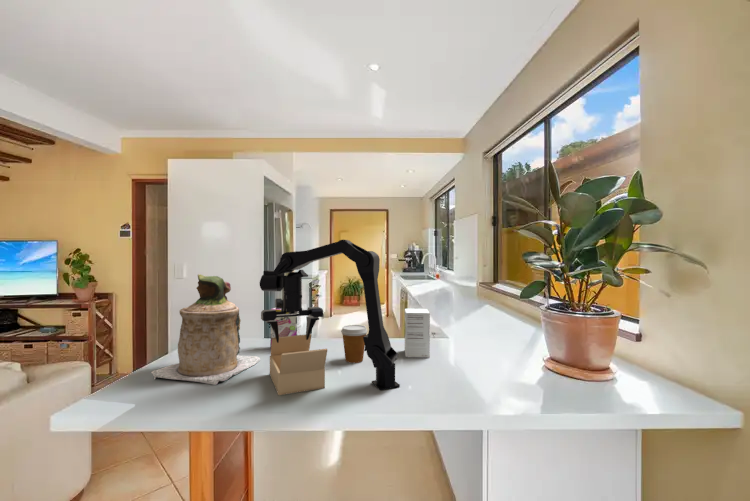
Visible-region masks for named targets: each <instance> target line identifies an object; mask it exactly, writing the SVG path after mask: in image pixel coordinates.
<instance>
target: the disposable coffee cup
mask: <svg viewBox="0 0 750 501" xmlns="http://www.w3.org/2000/svg"><path fill="white" fill-rule="evenodd" d="M340 332H341V334H342V335H341V336H342V342H343V350H344V357H345V362H346V363H348V364H357V363H362V362H363V361H364V353H365V351H364V350H365V344H364V340H363V337H364V336H366V335H367V334H368V329H367V326H365V325H363V324H361V325H360V324H349V325H344V326H342V329H341V331H340Z"/></svg>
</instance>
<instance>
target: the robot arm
mask: <svg viewBox="0 0 750 501" xmlns="http://www.w3.org/2000/svg"><path fill="white" fill-rule="evenodd" d="M341 254H343V255H344V256H345V257H346V258H348V259H349V260H351V261H352V262H354V263H355V266H356V270H357V273H358V275H359V277H360V279H361V281H362V284H363V291H364V292H363V293H364V300H365V308H366V309H365V310H366V315H367V324H368V331H367V334H366V336H364V337H363V340H364V344H365V348H364V352H366V355H367V357H368V358H369V359H370V360H371V362H372V365H373V368H375V380H371V384H372V385H374V387H376V388H377V389H379V390H381V391H384V390H387V389H388V390H389V389H393V388H400V387H401V384H400V383H398V382H396V363H395V362H396V361H397V358H398V357H399V356H398V355H399V354H398V352H397V351H396V350H395V349H394V347H392V345H391V341H390V338H389V335H388V333H387V331H386V329H385V326H384V322H383V321H384V320H383V313H382V306H381V305H382V304H381V296H380V289H379V283H378V281H379V280H378V278H379V273H380V261H381V260H380V259H381V258H380V256H379V254H378V253H376V252H375V251H374V250H373V251H372V250H366V249H365V248H362V247H361V246H359V245H356V244H354V243H353V242H352V241H351V240H349V239H339V240H337V241H336V242H332V243H328V244H324V245H322V246H321V245H320V246H319V247H314V248H311V249H308V250H300V251H297V250H296V251H289V252H288V251H287V252H286V251H285V252H284V253H283V254H281V256H280V259H279V262H278V264H277V265H276V267H275V268H274V270H269V269H268V270H263V272H262V273H263V274H262V275H261V277H260V280H259V287H260V289H261V291H262V292H281V291H283V295H282V296H283V297H282V298H275V299H274V301H275V302H274V304H275V305H274V306H275V307H274V308H276V309H281V311H279V312H276V310H274V309H273V308H270V309H262V310H261V312H260V320H262V321H263V322H265V323H266V324H270V328H271V327H272V329H273V332H274V335H275V338H276V341H277V343H279V333H278V321H276V318H277V317H291V316H300V317H303V316H304V317H305V316H306V327H305V330H306V331H305V335H306V340H308V338H309V336H310V334H312V330H313V328H314V326H315V324H316V322H317V321H319V320H320V318H323V317H324V309H323V308H321V307H320V306H309V307H307V308H306V309H303V307H302V306H303V302H302V301H303V299H302V298H303V293H302V290H303V283H302V282H303V280H302V279H303V278H308V277H309V274H308V273H306V272H305V271H304V269H303V268H305V267H307V266H308V265H309V264H311V263H313V262H317V261H320V260H324V259H327V258H330V257H334V256H338V255H341ZM297 270H298V271H297ZM285 274H287V275H285ZM288 312H291V313H288ZM286 313H288V314H286ZM297 313H299V314H297Z"/></svg>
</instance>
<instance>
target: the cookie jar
mask: <svg viewBox="0 0 750 501" xmlns="http://www.w3.org/2000/svg"><path fill="white" fill-rule="evenodd" d="M197 279H198V282H197V287H196V289H197V293H198V295H199V298H198V299H197V300H196V301H195V302H193V303H192V304H191V305H189V306H187V307H186V306H185V307H183V308H181V309H180V310H179V315H180V317H181V326H180V330H179V339H178V343H177V353H178V354H177V356H178V363H175V364H171V365H168V366H165V367H162V368H159V369H155V370H152V371H151V372H150V373H151V374H152V375H153V380H156V379H158V378H161V379H167V380H175V381H176V380H177V381H188V382H196V383H202V384H208V385H213V386H216V385H218V383H219V382H225V381H227V380H229V379H230V378H232V377H234V376H236V375H238V374H241V373H242V372H244V371H245V370H247V369H249V368H251V367H253V366H255V365H257V364H259V362H260V361H261V358H260V356H257V355H256V356H255V355H239V354H240V351H241V347H240V343H241V336H240V330H241V326H240V324H241V321H242V320H241V317H240V309H239V307H238V306H236V304H235V303H234V302H231V301H229V300H228V297H227V296H226V294H228V293H230V291H231V290H232V288H231V284H230V282H228V281H224V279H223V277H220V276H219V275H213V276H212V275H210V276H209V275H207V276H206V275H203V274H201V273H198V274H197Z"/></svg>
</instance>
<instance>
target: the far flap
mask: <svg viewBox="0 0 750 501" xmlns="http://www.w3.org/2000/svg"><path fill="white" fill-rule="evenodd" d="M311 340H312V333H310V336H309V338H308V340H306V334H300V335H295V336H285V337H279V343H277V341H276V338H275V337H274V338H272V344H271V349H270V356H272V355H281V354H283V353H292V352H301V351H310V348H311Z"/></svg>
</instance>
